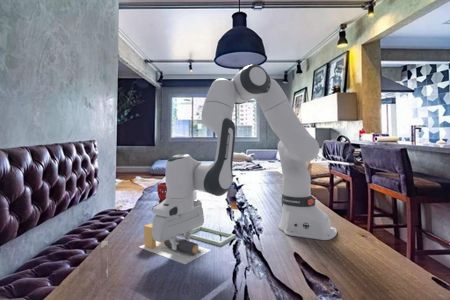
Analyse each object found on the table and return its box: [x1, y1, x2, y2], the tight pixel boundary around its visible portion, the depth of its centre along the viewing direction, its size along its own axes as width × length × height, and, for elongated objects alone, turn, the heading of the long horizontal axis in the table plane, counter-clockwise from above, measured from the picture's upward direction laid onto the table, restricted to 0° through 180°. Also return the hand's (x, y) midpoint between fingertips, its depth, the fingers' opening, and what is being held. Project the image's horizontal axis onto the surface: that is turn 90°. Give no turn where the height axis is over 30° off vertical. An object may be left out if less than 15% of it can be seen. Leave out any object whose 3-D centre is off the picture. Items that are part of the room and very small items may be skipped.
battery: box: [164, 237, 199, 255], centre depth 87 cm, size 13×4×4 cm, turn 54°
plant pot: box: [156, 181, 167, 204], centre depth 156 cm, size 13×13×12 cm
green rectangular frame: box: [183, 225, 236, 247], centre depth 99 cm, size 17×9×2 cm, turn 54°
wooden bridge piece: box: [143, 222, 156, 248], centre depth 93 cm, size 4×9×7 cm, turn 144°
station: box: [138, 241, 212, 265], centre depth 89 cm, size 22×12×2 cm, turn 54°
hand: (180, 246), depth 87 cm, fingers closed on battery, 3 cm apart
